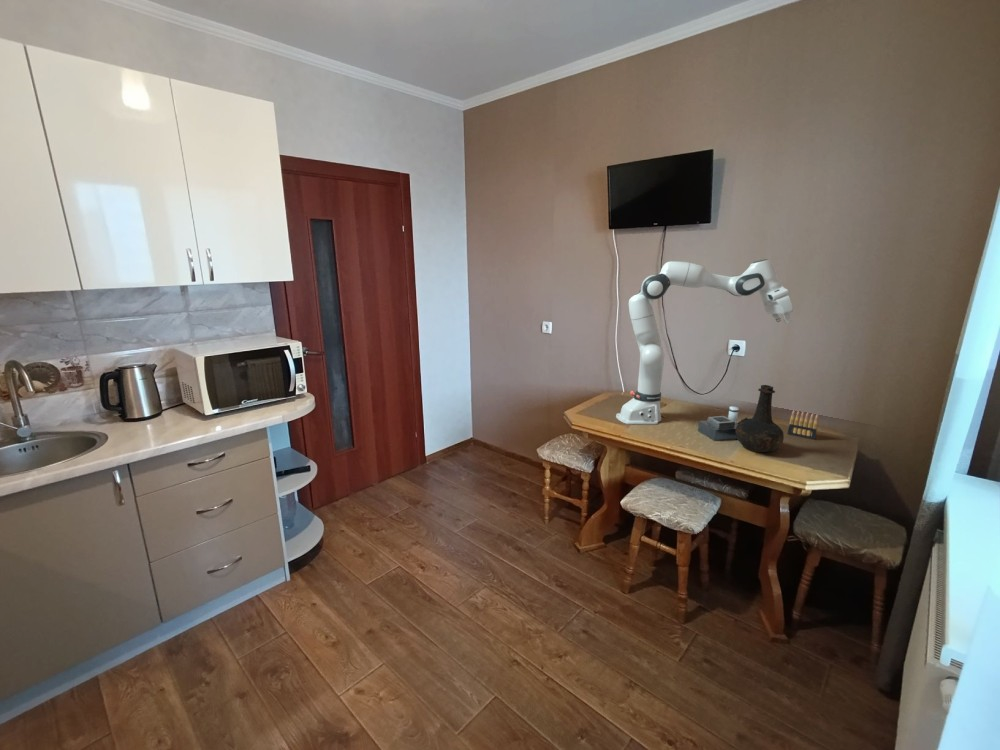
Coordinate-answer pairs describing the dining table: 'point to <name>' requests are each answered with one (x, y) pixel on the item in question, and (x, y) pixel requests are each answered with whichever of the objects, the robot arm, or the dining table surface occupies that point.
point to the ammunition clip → (803, 425)
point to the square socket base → (718, 428)
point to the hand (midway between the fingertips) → (783, 322)
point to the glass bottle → (760, 426)
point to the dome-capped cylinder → (733, 413)
